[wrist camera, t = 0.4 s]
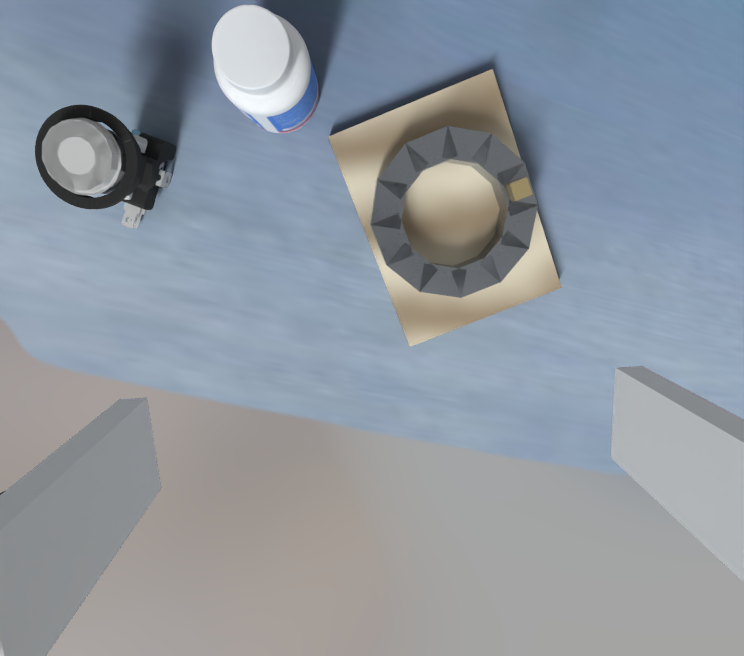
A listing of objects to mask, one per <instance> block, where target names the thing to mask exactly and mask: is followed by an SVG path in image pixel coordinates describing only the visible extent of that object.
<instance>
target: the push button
mask: <svg viewBox="0 0 744 656" xmlns="http://www.w3.org/2000/svg"><path fill="white" fill-rule="evenodd" d="M98 122H103V123H104V124H106V125H107V126H109V127H110V128H111V129H112V130H113V131H114V132H113V131H110V130H107V129H106V128H104V127H103V126H102V125H101V124H99V123H98ZM175 151H176V146H174V145H172V144H169V143H167V142H164V141H162V140H159V139H157V138H154V137H152V136H149V135H147V134H144V133H142V132H139V131H137V130H133V131H132V133H131V132H130V131H129V130H128V129H127V128H126V126H125V125H124V124H123V123H122V122H121V121H120V120H119V119H117V118H116V117H115V116H113V115H112V114H110V113H108V112H106V111H104V110H102V109H99V108H97V107H93V106H88V105H73V106H68V107H65V108H62V109H60V110H58V111H56V112H55V113H53V114H52V115H51V116H50V117H49V118H48V119H47V120H46V121H45V122H44V124H43V125H42V127H41V129H40V131H39V133H38V136H37V139H36V145H35V157H36V163H37V167H38V170H39V172H40V175H41V177H42V178H43V180H44V182H45V183H46V185H47V186H48V187H49V189H50V190H51V191H52V192H53V193H54V194H55V195H57V196H58V197H59V198H60V199H62V200H63V201H65V202H67V203H69V204H71V205H73V206H76V207H80V208H85V209H103V208H108V207H111V206H113V205H115V204H117V203H119V202H121V201H123V202H125V205H124V208H123V209H125V213H124V216H123V220H122V223H121V224H122V225H123V226H126V227H129V228H133V227H135V228H138V227H139V223H140V220H141V217H142V214H143V215H144V214H145V211H146V210H151V209H152V208H153V206H154V202H155V198H156V195H157V191H158V188H159V187H164V188H167V187H168V186H169V182H170V179H171V176H172V173H170V172H166V171H164V168H165V165H166V162H167V161H168V160H172V159H173V157H174V154H175ZM167 177H168V180H167V182H166V179H167ZM99 193H102V194H107V195H104V196H102V197H97V198H93V197H91V196H92V195H96V194H99ZM127 217H129V218H128V221H126V218H127ZM136 218H137V222H136V223H134V222H135V219H136Z"/></svg>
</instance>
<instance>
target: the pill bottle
mask: <svg viewBox="0 0 744 656" xmlns="http://www.w3.org/2000/svg"><path fill="white" fill-rule="evenodd" d="M212 53H213V57H214V70H215V75H216V78H217V81H218V83H219V85H220V87H221V89H222V91H223V92H224V94H225V95H226V96H227V97H228V99H229V100H230V101H231V102H232V103H233V104H234V105H235V106H236V107H237V108H239V109H240V110H241V111H242V112H243V113H244V114H245V115H246V116H247V117H248V118H250V119H251V120H252V121H253V122H254V123H255V124H257V125H258V126H260V127H261V128H263V129H265V130H267V131H270V132H274V133H289V132H292V131H295V130H297V129H299V128H301V127H302V126H304V125H305V124H306V123H307V122H308V121H309V120H310V118H311V117H312V115H313V114H314V112H315V110H316V107H317V104H318V98H319V87H318V81H317V78H316V75H315V72H314V68H313V65H312V62H311V59H310V56H309V52H308V49H307V47H306V44H305V42H304V40H303V38H302V37H301V35H300V34H299V32H298V31H297V30H296V29H295V28H294V27H293V26H292V25H291V24H290V23H289V22H288V21H286V20H285V19H284V18H282V17H280V16H278V15H276V14H273V13H272V12H270V11H269V10H267V9H265V8H263V7H260V6H257V5H241V6H237V7H235V8H233V9H231V10H229V11H228V12H226V13H225V14H224V15H223V16H222V17H221V19H220V20H219V21H218V23H217V25H216V27H215V29H214V33H213V37H212Z"/></svg>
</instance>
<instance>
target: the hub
mask: <svg viewBox="0 0 744 656" xmlns="http://www.w3.org/2000/svg"><path fill="white" fill-rule="evenodd" d="M444 162H447V163H453V164H459V165H466V166H471V167H472V168H474V169H475V170H476V171H477V172H478V173H479V174H481V175H482V176H483V177H484V178H485V179H486V180H487V181H489V182H490V183H491V185H492V188H493V191H494V194H495V197H496V200H497V203H498V206H499V209H500V210H499V215H498V220H497V225H496V230H495V235H494V237H493V238H492V239H491V240H490V242H489V243H488V244H487V245H486V246H485V248H484V249H483V250H482V251H481V252H480V254H479V255H478V256H477V257H474V258H471V259H469V260H466V261H464V262H461V263H459V264H456V265H454V266H452V265H445V264H439V263H432V262H429V261H427V260H426V259H425V258H424V257H422V256H421V255H420V254H419V253H418V252H416V251H415V250H414V249H413V248H411V246H410V243H409V240H408V238H407V235H406V232H405V230H404V227H403V224H402V221H401V220H402V214H403V208H404V201H405V195H406V192H407V191H408V189H409V188H410V187H411V185H412V184H413V183H414V182H415V180H416V179H417V178H418V177H419V175H420V174H421V173H422V171H425V170H427V169H429V168H432V167H434V166H437V165H439V164H442V163H444ZM537 208H538V203H537V200H536V197H535V194H534V190H533V187H532V184H531V181H530V178H529V174H528V171H527V168H526V165H525V162H524V161H522V160H521V159H520V158H519V157H518V156H517V155H516V154H514V153H513V152H512V151H511V150H510V149H509V148H508V147H507V146H505V145H504V144H503V143H502V142H501V141H500V140H499V139H498V138H496V137H495V136H494V135H493V134H492V133H487V132H481V131H475V130H469V129H463V128H457V127H451V126H446V127H444V128H442V129H439V130H437V131H434V132H432V133H429V134H427V135H424V136H422V137H420V138H417V139H415V140H412V141H410V142H407V143H405V144H404V146H403V147H402V148H401V150H400V151H399V152H398V154H397V155H396V156H395V158H394V159H393V160H392V161H391V163H390V164H389V165H388V167H387V168H386V169H385V171H384V172H383V173H382V174H381V176H380V177H379V178H378V179H377V181H376V186H375V193H374V199H373V206H372V213H371V220H370V226H371V228H372V231H373V234H374V236H375V239H376V241H377V244H378V247H379V249H380V252H381V254H382V257H383V259H384V262H385V264H386V265H387V266H388V267H389V268H390V269H392V270H393V271H394V272H395V273H397V274H398V275H399V276H400V277H402V278H403V279H404V280H405V281H407V282H408V283H409V284H410V285H412V286H413V287H414V288H415V289H417V290H418V291H419V292H424V293H431V294H438V295H445V296H452V297H459V298H462V297H465V296H467V295H470V294H472V293H475V292H477V291H480V290H482V289H485V288H488V287H490V286H493V285H495V284H498V283H500V282H502V280H503V279H504V278H505V277H506V276H507V274H508V273H509V272H510V271H511V270H512V268H513V267H514V266H515V265H516V264H517V262H518V261H519V260H520V259H521V258H522V256H523V255H524V254H525V253H526V252H527V251H528V249H529V247H530V242H531V237H532V232H533V227H534V223H535V218H536V213H537Z"/></svg>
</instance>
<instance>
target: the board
mask: <svg viewBox="0 0 744 656" xmlns="http://www.w3.org/2000/svg"><path fill="white" fill-rule="evenodd" d="M446 126H451V127H457V128H463V129H469V130H475V131H481V132H487V133H492V134H493V135H494V136H495V137H496V138H498V139H499V140H500V141H501V142H502V143H503V144H504V145H505V146H507V147H508V148H509V149H510V150H511V151H512V152H513V153H514V154H516V155H517V156H518V157H519V158H520V159H521V157H520V154H519V151H518V148H517V145H516V141H515V138H514V135H513V132H512V129H511V126H510V122H509V119H508V116H507V113H506V110H505V106H504V103H503V100H502V97H501V94H500V91H499V87H498V84H497V81H496V78H495V75H494V71H493V69H491V70H489V71H486V72H484V73H481V74H479V75H477V76H474V77H472V78H469V79H467V80H464V81H462V82H460V83H457V84H455V85H452V86H450V87H447V88H445V89H443V90H440V91H438V92H435V93H433V94H430V95H428V96H426V97H423V98H421V99H418V100H416V101H413V102H411V103H409V104H406V105H404V106H401V107H399V108H396V109H394V110H392V111H389V112H387V113H384V114H382V115H380V116H377V117H375V118H372V119H370V120H367V121H365V122H363V123H360V124H358V125H355V126H353V127H350V128H348V129H346V130H343V131H341V132H338V133H336V134H333V135H331V136H329V137H328V138H329V141H330V143H331V146H332V148H333V151H334V154H335V156H336V159H337V161H338V164H339V166H340V169H341V171H342V174H343V177H344V179H345V182H346V184H347V187H348V189H349V192H350V195H351V197H352V200H353V202H354V205H355V207H356V210H357V212H358V215H359V218H360V220H361V223H362V225H363V228H364V230H365V233H366V235H367V238H368V241H369V243H370V246H371V248H372V251H373V253H374V256H375V259H376V261H377V264H378V266H379V269H380V271H381V274H382V276H383V279H384V282H385V284H386V287H387V289H388V292H389V294H390V297H391V299H392V302H393V305H394V307H395V310H396V312H397V315H398V317H399V320H400V323H401V325H402V328H403V330H404V333H405V335H406V338H407V340H408V343H409V345H410V347H411V346H413V345H416V344H418V343H421V342H423V341H426V340H429V339H431V338H434V337H436V336H439V335H441V334H444V333H446V332H449V331H452V330H454V329H457V328H459V327H462V326H464V325H467V324H470V323H472V322H475V321H477V320H480V319H482V318H485V317H487V316H490V315H493V314H495V313H498V312H500V311H503V310H505V309H508V308H510V307H513V306H516V305H518V304H521V303H523V302H526V301H528V300H531V299H534V298H536V297H539V296H541V295H544V294H546V293H549V292H551V291H554V290H557V289H559V288H561V284H560V281H559V278H558V275H557V272H556V268H555V265H554V262H553V259H552V256H551V253H550V249H549V246H548V243H547V240H546V237H545V234H544V230H543V227H542V224H541V221H540V218H539V214H538V211H537V213H536V218H535V223H534V227H533V232H532V237H531V242H530V247H529V249H528V251H527V252H526V253H525V254H524V255H523V256H522V258H521V259H520V260H519V261H518V262H517V264H516V265H515V266H514V267H513V268H512V270H511V271H510V272H509V273H508V274H507V276H506V277H505V278H504V279H503V280H502V282H500V283H498V284H495V285H493V286H490V287H488V288H485V289H482V290H480V291H477V292H475V293H472V294H470V295H467V296H465V297H462V298H459V297H452V296H445V295H438V294H431V293H424V292H419V291H418V290H417V289H415V288H414V287H413V286H412V285H410V284H409V283H408V282H407V281H405V280H404V279H403V278H402V277H400V276H399V275H398V274H397V273H395V272H394V271H393V270H392V269H390V268H389V267H388V266H387V265H386V264H385V262H384V259H383V257H382V254H381V252H380V249H379V247H378V244H377V241H376V239H375V236H374V234H373V231H372V228H371V226H370V220H371V213H372V206H373V199H374V193H375V186H376V181H377V179H378V178H379V177H380V176H381V174H382V173H383V172H384V171H385V169H386V168H387V167H388V165H389V164H390V163H391V161H392V160H393V159H394V158H395V156H396V155H397V154H398V152H399V151H400V150H401V148H402V147H403V146H404V144H405V143H407V142H410V141H412V140H415V139H417V138H420V137H422V136H424V135H427V134H429V133H432V132H434V131H437V130H439V129H442V128H444V127H446ZM499 210H500V209H499V206H498V203H497V200H496V197H495V194H494V191H493V188H492V185H491V183H490V182H489V181H487V180H486V179H485V178H484V177H483V176H482V175H481V174H479V173H478V172H477V171H476V170H475V169H474V168H472V167H471V166H466V165H459V164H453V163H447V162H444V163H442V164H439V165H437V166H434V167H432V168H429V169H427V170H425V171H422V173H421V174H420V175H419V177H418V178H417V179H416V180H415V182H414V183H413V184H412V185H411V187H410V188H409V189H408V191H407V192H406V195H405V201H404V208H403V214H402V220H401V221H402V224H403V227H404V230H405V232H406V235H407V238H408V240H409V243H410V246H411V248H413V249H414V250H415V251H416V252H418V253H419V254H420V255H421V256H422V257H424V258H425V259H426V260H427V261H429V262H432V263H439V264H445V265H452V266H454V265H456V264H459V263H461V262H464V261H466V260H469V259H471V258H474V257H477V256H478V255H479V254H480V252H481V251H482V250H483V249H484V248H485V246H486V245H487V244H488V243H489V242H490V240H491V239H492V238H493V237H494V235H495V230H496V225H497V220H498V215H499Z"/></svg>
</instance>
